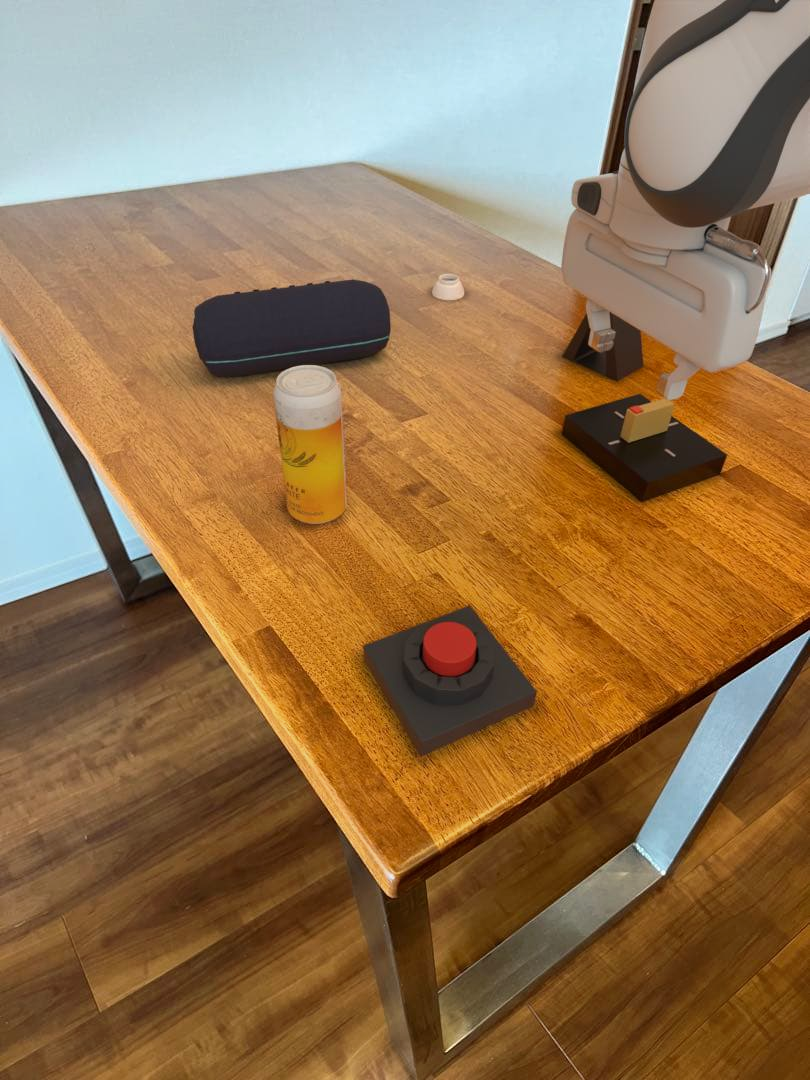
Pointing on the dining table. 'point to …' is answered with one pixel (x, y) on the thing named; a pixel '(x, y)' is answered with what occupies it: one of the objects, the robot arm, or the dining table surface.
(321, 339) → the portable speaker
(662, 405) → the thumb turn
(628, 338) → the phone stand
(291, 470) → the beer can
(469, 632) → the button
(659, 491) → the plate
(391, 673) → the button base
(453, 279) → the lidless jar
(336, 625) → the dining table surface
